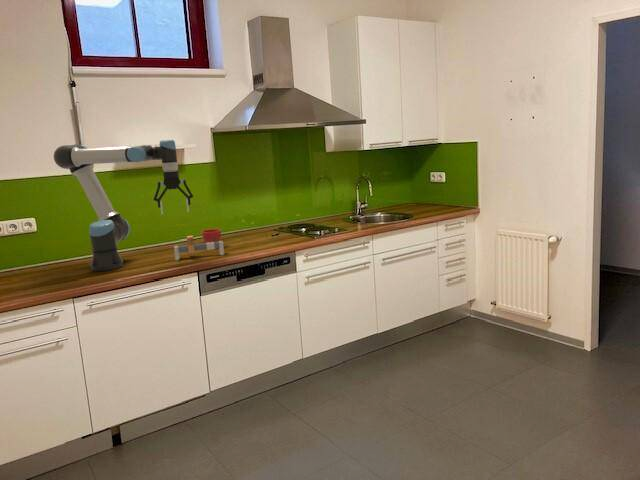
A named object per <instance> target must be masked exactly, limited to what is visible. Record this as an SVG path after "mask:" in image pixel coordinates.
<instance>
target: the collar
mask: <svg viewBox="0 0 640 480" xmlns="http://www.w3.org/2000/svg"><path fill="white" fill-rule="evenodd" d="M186 240H187V245H188V251H189V252H188V257H194V256H195V257H196V251H194V236H193V234H192V235H191V234H190V235H186Z"/></svg>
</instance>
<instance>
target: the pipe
mask: <svg viewBox="0 0 640 480" xmlns="http://www.w3.org/2000/svg"><path fill="white" fill-rule="evenodd" d="M215 249H218V250H219V255H220V256H224V255H225V249H224V242H223V240H220V241H218V242H208V243H204V242H203V243H195V244H194V251H195V252H197V251H198V252H200V251H209V250H215ZM173 251H174V258H175V261H180V253H189V251H188V244H183V245H174V246H173Z"/></svg>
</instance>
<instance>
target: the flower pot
mask: <svg viewBox="0 0 640 480" xmlns="http://www.w3.org/2000/svg"><path fill="white" fill-rule="evenodd" d="M221 234H222V229H218V228H211V229H204V230H202V231H201V236H202V238H203V243H208V242H218V241H221V236H222V235H221Z"/></svg>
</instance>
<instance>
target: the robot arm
mask: <svg viewBox="0 0 640 480" xmlns="http://www.w3.org/2000/svg"><path fill="white" fill-rule="evenodd" d="M55 149H56V150H54V152H53V160H54V163H55V164H56V165H57V166H58V167H59V168H61V169H64V170H65V169H66V170H69V171H70V173H71V175H72V176H75V177H76V178H77V180H78V182H79V183H80V185H81V187H82V189H83V191H84V193H85V196H86V197H87V199H88V200H89V202H90V204H91V206H92V208H93V210H94V212H95V214H96V215H97V217H98V220H97V221H94V222H92V223H90V225H89V226H88V233H89V237H90V244H91V250H92V257H91V263H90V268H91V271H93V272H106V271H113V270H115V269H119V268H121V267H123V266H124V261H123V259H122V257H121V255H120V253H119V252H118V251H119V250H118V243H119V242H121V241H123V240H125V239H126V238H127V237H128V236H129V234H130V232H131V226H130V223H129V222H128V221H127V219H125V218H123V217H122V216H121V214H120V212H118V211H115V209H114V207H113V205H112V203H111V201H110V200H109V197H108V196H107V194H106V192H105V190H104V188H103V187H102V185H101V182H100V180H99V179H98V177H97V175H96V173H95V171H94V167H95V164H96V165H97V164H99V165H100V164H116V163H141V162H148V161H158V160H160V161H161V165H162V166H161V167H162V171H163V173H162V174H163V176H162V177H163V181H158V182H157V189H156V192H155V194H154V198H153V201H156V202H157V207H158V208H160V213H161V215H164V211H163V210H164V209H163V203H162V198H163V197H164V196H165V194H166V192H167V191H168V190H176V189H177V190H179V191H180V192H181V193H182V194H183V195H184V197H185V198H186V199H185V202H186V210H187V213H189V212H190V208H189V207H190V206H191V199H192V198H194V195H193V193H192V191H191V189H190V187H189V186H188V185H187V180H186V179H181V180H180V176H179V175H180V174H179V171H178V170H179V166H178V165H179V164H178V156H177V148H176V142H175V141H174V139H166V140H163V139H162V140H159V144H144V145H143V144H142V145H133V146H130V145H129V146H112V147H111V146H110V147H107V146H106V147H91V148H89V147H87V146H85V145H83V144H78V143H77V144H70V145H69V144H68V145H60V146H59V147H57V148H55ZM180 184H182V185H184V187H185V189H186V191H187V193H188V194H187V193H186V191H185V190H184V189H182V188H181V186H180ZM163 185H164V186H165V187H164V189H163V190H162V192H161V194H160V195H159V192H160V191H161V190H160V189H161V187H162V186H163Z"/></svg>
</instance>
